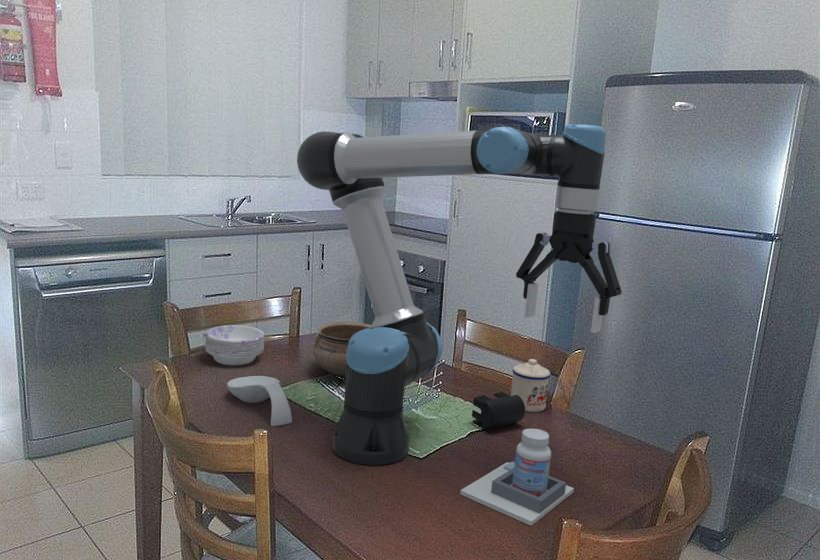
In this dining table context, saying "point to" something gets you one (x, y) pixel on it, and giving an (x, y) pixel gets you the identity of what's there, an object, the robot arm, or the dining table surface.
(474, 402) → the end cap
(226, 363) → the paper bowls
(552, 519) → the dining table surface
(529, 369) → the teacup with lid
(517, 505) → the panel
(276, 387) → the spoon rest
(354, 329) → the cooking pot
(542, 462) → the pill bottle
